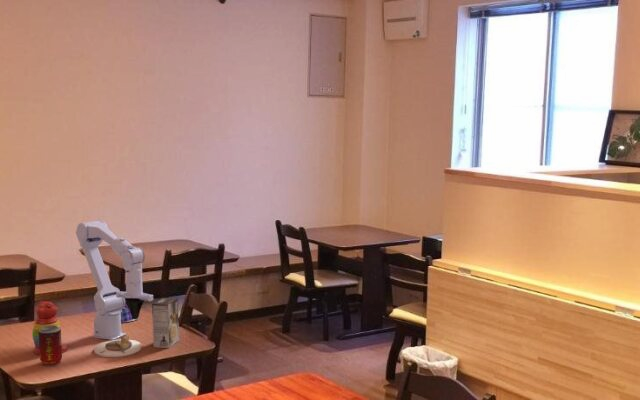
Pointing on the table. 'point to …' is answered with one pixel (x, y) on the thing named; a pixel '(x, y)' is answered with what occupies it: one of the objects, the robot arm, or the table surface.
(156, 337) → the coffee box
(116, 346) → the dial
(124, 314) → the blue checkered cloth
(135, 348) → the base
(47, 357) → the soda can
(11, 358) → the table surface
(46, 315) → the stacking bear
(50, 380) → the table surface
